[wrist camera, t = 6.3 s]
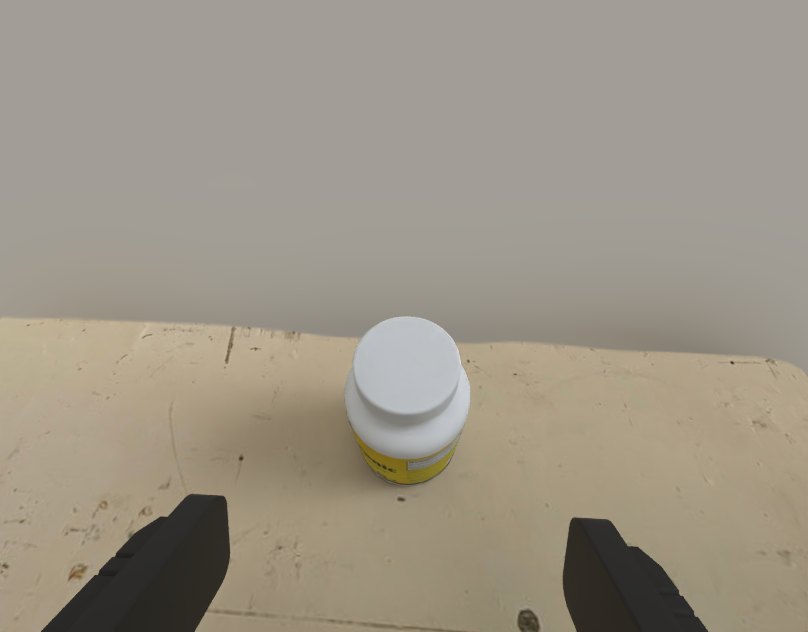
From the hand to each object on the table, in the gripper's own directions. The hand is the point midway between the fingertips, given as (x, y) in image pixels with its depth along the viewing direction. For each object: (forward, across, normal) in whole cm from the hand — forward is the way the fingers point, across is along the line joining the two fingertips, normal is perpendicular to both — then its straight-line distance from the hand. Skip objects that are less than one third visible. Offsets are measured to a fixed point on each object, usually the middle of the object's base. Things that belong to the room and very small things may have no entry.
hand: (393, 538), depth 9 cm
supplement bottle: (+13, 0, +5) cm, 14 cm away
